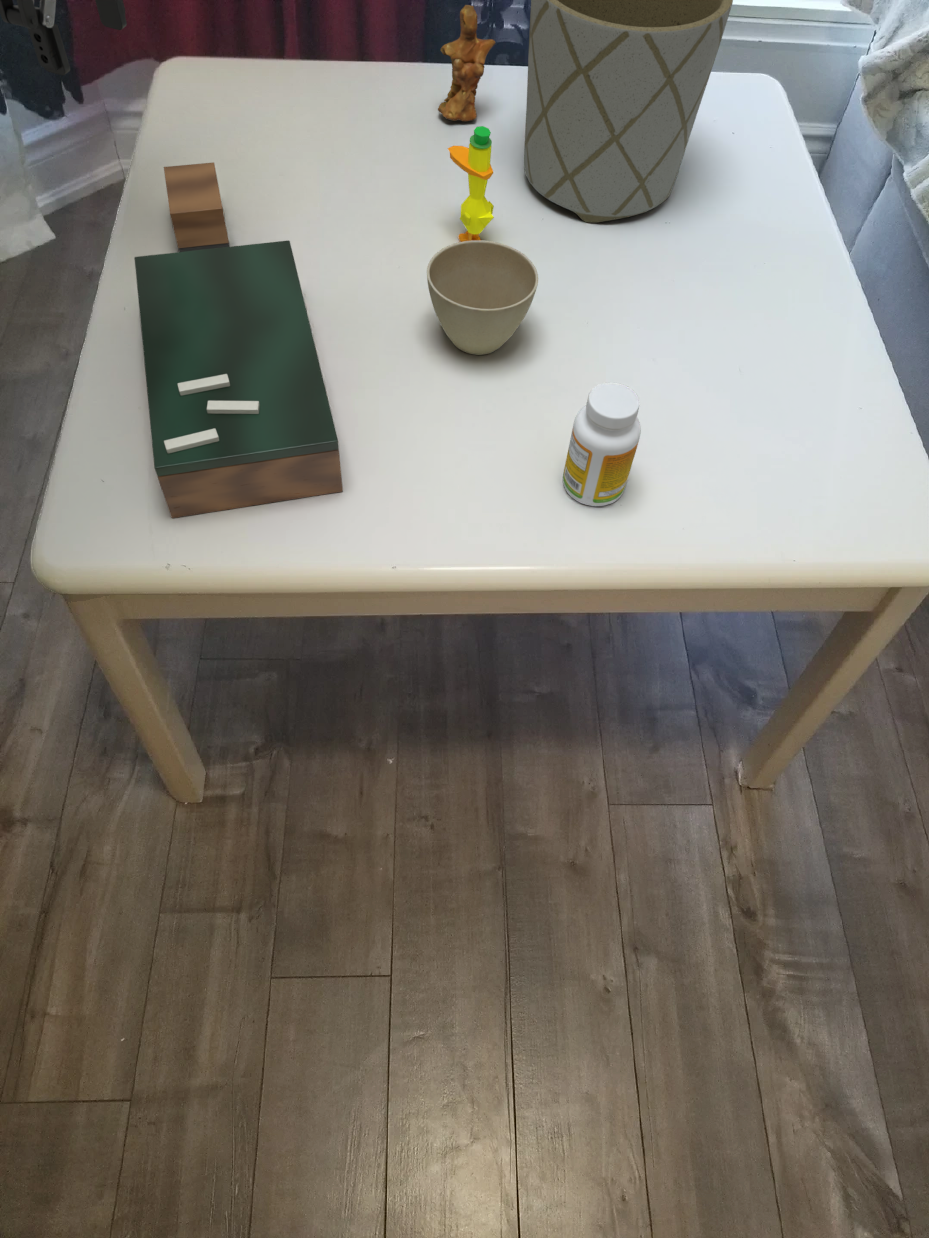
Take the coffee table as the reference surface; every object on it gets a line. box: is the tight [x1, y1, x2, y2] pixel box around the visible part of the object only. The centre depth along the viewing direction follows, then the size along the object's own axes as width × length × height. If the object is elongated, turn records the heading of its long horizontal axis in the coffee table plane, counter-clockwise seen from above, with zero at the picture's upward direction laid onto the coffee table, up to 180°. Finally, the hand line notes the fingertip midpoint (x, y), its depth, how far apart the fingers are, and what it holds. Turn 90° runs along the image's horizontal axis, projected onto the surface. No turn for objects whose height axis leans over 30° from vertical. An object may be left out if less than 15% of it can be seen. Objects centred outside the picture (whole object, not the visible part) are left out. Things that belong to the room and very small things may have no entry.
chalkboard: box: [134, 239, 344, 519], centre depth 79 cm, size 14×26×6 cm, turn 14°
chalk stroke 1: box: [178, 374, 230, 396], centre depth 74 cm, size 4×1×1 cm, turn 109°
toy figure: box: [447, 125, 495, 242], centre depth 91 cm, size 7×4×12 cm, turn 42°
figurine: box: [437, 4, 496, 122], centre depth 104 cm, size 5×6×12 cm
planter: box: [523, 0, 734, 224], centre depth 95 cm, size 19×19×20 cm
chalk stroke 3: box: [207, 401, 260, 414], centre depth 72 cm, size 4×1×1 cm, turn 92°
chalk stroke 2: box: [164, 428, 219, 454], centre depth 70 cm, size 4×1×1 cm, turn 112°
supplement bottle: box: [562, 382, 642, 507], centre depth 74 cm, size 5×5×10 cm
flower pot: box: [426, 239, 539, 356], centre depth 85 cm, size 10×10×7 cm
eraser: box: [163, 161, 231, 252], centre depth 92 cm, size 8×5×5 cm, turn 14°
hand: (87, 49), depth 78 cm, fingers open, 8 cm apart
